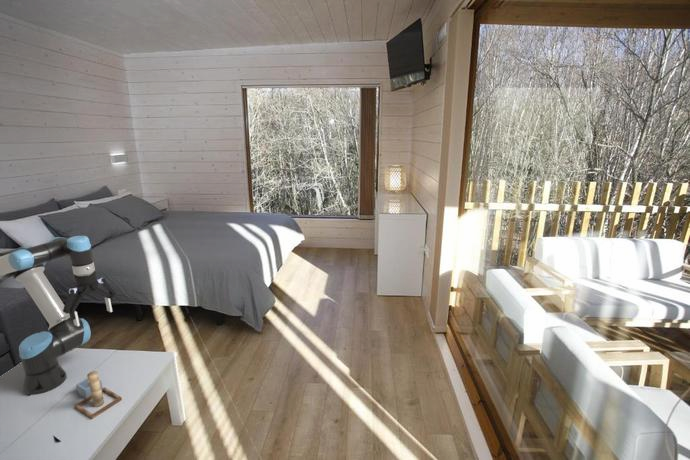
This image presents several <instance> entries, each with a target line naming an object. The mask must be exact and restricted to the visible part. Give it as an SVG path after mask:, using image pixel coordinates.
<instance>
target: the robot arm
mask: <svg viewBox="0 0 690 460" xmlns="http://www.w3.org/2000/svg"><path fill="white" fill-rule="evenodd" d="M62 258H67V259H70V263H71V268H72V273H73V277H74V281H75V287H74V288H70V287H69V288H68V289H67V296H66V300H65V302H63V300H61V298H60V297H59V295H58V294H57V292H56V291H55V289H54V287H53V285H52V283H50V282H49V279H48V278H47V276H46V275H45V273H44V271H45V269H46V268H45V266H46V263H49V262H52V261H56V260H58V259H62ZM12 277H13V278H14V280H15V281H16V282H21V284H22V285H23V287H24V288H25V290H26V291H27V292H28V294H29V295H30V297H31V298H32V300H33V302H34V304H35V305H36V306H37V308H38V309H39V311H40V312H41V314H42V316H43V318H45V320H46V322H47V323H48V325H49V327H48V331H45V330H44V331H40V332H35V333H34V334H30V335H29V336H27V337H25V339H23V340H22V341H21V342H20V344H19V346H18V353H19V354H18V355H19V358H20V360H21V363H22V368H23V370H24V374H25V375H24V376H25V377H24V382H23V391H24V394H26V395H27V396H35V395H42V394H45V393H49V392H51V391H53V390H56V388H58V387H60V386H61V385H62V384H63V383H64V382H65V381H66V380H67V377H68V376H67V372H66V370H65V369H64V368H63V367H62V366H61V364H60V363H59V360H58V358H59V357H60V358H61V356H63V355H65V354H67V353H69V352H70V351H72V350H75V349H76V348H78V347H79V348H80V347H81V346H82V345H84V344H86V343H87V342H88V341H89V340H90V339H91V333H92V332H91V328H90V324H89V322H88V321H87V320H86V319H84V318H83V317H82V318H79V315H78V311H76V309H78V306H79V305H80V302H81V301H82V299H83V298H84V297H85V296H88V295H89V294H92V293H95V291H96V292H98V293H100V294H101V295H104V296H105V297H104V301H105V306H106V311H107V312H109V313H112V312H113V307H112V304H113V298H114V296H115V295H117V294H116V293H117V292H116V291H115V290H114V289H113V288H112V287H111V286H110V285H109V284H108V282H107V280H106V278H104V277H101V276H100V277H99V278H98V277H97V272H96V268H95V262H94V258H93V252H92V245H91V243H90V238H89V237H88V236H87V235H74V236H71V237H69V238H68V237H62V236H61V237H60V236H59V237H58V236H57V237H53V238H52V239H50V240H49V241H48V242H45V243H41V244H38V245H33V246H32V245H27V246H20V247H18V248H14V249H11V250H6V251H2V252H0V281H1V280H5V279H9V278H12ZM100 284H101V285H102V286H103V288H104V289H105V290H107V292H106V291H105V290H103V289H101V288H100V287H98V285H100Z"/></svg>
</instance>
